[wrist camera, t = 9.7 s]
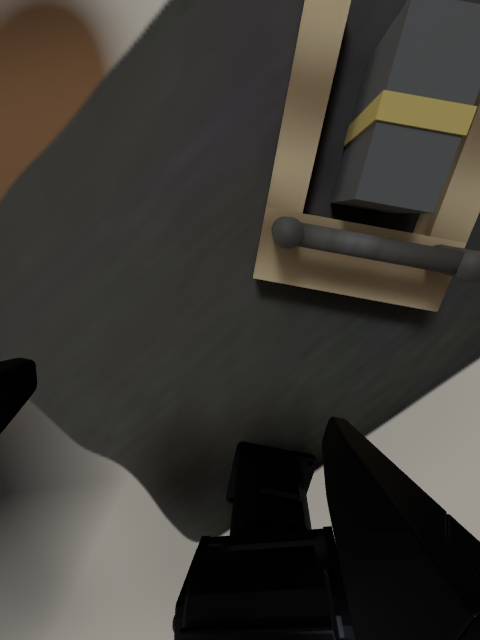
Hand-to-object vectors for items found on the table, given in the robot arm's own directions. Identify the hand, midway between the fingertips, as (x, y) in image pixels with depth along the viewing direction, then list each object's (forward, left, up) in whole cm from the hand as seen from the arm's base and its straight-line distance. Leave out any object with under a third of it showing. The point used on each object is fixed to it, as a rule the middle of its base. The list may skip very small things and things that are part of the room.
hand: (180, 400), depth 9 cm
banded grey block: (+10, -7, -12) cm, 17 cm away
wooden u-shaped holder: (+9, -7, -12) cm, 17 cm away
